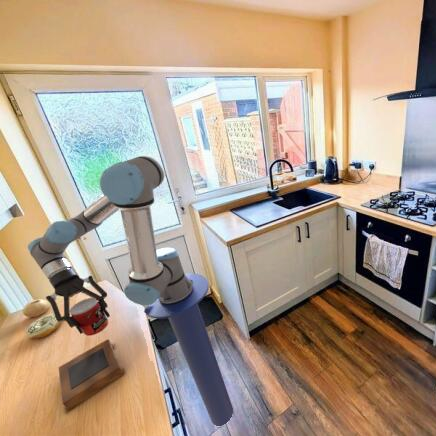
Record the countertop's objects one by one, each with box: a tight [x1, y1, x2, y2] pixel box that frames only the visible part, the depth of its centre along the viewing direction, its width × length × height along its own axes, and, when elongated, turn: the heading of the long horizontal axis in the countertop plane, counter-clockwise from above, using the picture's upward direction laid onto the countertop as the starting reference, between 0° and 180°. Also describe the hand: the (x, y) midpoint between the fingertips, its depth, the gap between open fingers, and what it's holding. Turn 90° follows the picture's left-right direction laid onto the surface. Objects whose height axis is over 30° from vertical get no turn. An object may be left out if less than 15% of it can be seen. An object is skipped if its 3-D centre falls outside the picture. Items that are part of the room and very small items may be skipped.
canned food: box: [70, 297, 109, 337], centre depth 89 cm, size 8×8×11 cm
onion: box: [22, 297, 50, 318], centre depth 108 cm, size 8×8×7 cm
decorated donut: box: [25, 313, 62, 339], centre depth 99 cm, size 10×11×4 cm
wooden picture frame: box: [58, 338, 124, 411], centre depth 79 cm, size 14×16×4 cm
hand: (95, 324), depth 88 cm, fingers closed on canned food, 8 cm apart
